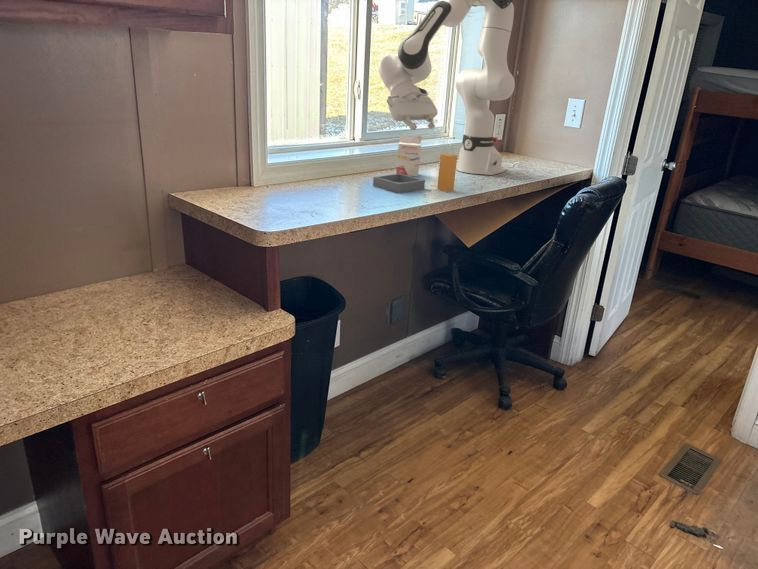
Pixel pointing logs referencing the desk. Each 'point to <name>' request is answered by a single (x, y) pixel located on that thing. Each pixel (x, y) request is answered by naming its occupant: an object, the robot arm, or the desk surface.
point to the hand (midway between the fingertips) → (423, 128)
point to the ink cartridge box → (409, 155)
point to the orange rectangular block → (447, 172)
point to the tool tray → (398, 183)
